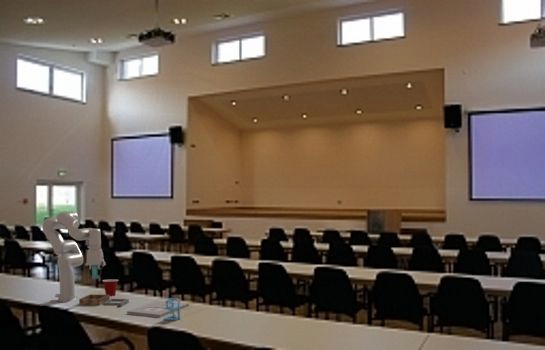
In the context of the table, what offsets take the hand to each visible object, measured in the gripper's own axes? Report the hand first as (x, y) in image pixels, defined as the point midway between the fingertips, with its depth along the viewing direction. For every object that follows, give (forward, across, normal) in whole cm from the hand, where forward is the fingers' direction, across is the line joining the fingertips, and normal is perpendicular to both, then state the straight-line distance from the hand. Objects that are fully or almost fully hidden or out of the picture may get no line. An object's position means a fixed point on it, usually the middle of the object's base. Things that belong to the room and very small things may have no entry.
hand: (95, 274), depth 347 cm
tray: (+20, +14, 0) cm, 24 cm away
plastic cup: (+20, -1, +23) cm, 30 cm away
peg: (+2, 0, 0) cm, 2 cm away
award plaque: (+21, +48, -12) cm, 53 cm away
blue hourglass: (+20, +65, -32) cm, 75 cm away
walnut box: (+19, -1, 0) cm, 19 cm away
